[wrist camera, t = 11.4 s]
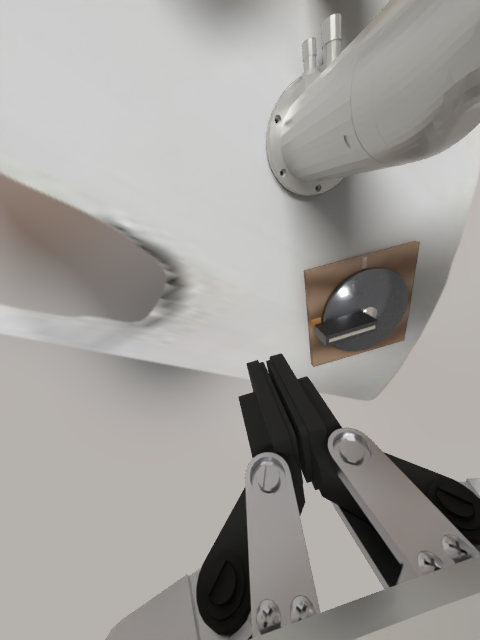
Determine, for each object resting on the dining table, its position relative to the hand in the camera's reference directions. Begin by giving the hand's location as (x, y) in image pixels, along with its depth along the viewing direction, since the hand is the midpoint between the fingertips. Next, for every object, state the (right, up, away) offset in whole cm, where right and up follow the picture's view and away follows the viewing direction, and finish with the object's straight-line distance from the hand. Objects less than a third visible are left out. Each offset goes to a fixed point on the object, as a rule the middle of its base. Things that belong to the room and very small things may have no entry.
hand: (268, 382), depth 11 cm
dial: (+20, +4, +31) cm, 37 cm away
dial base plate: (+21, +5, +32) cm, 39 cm away
